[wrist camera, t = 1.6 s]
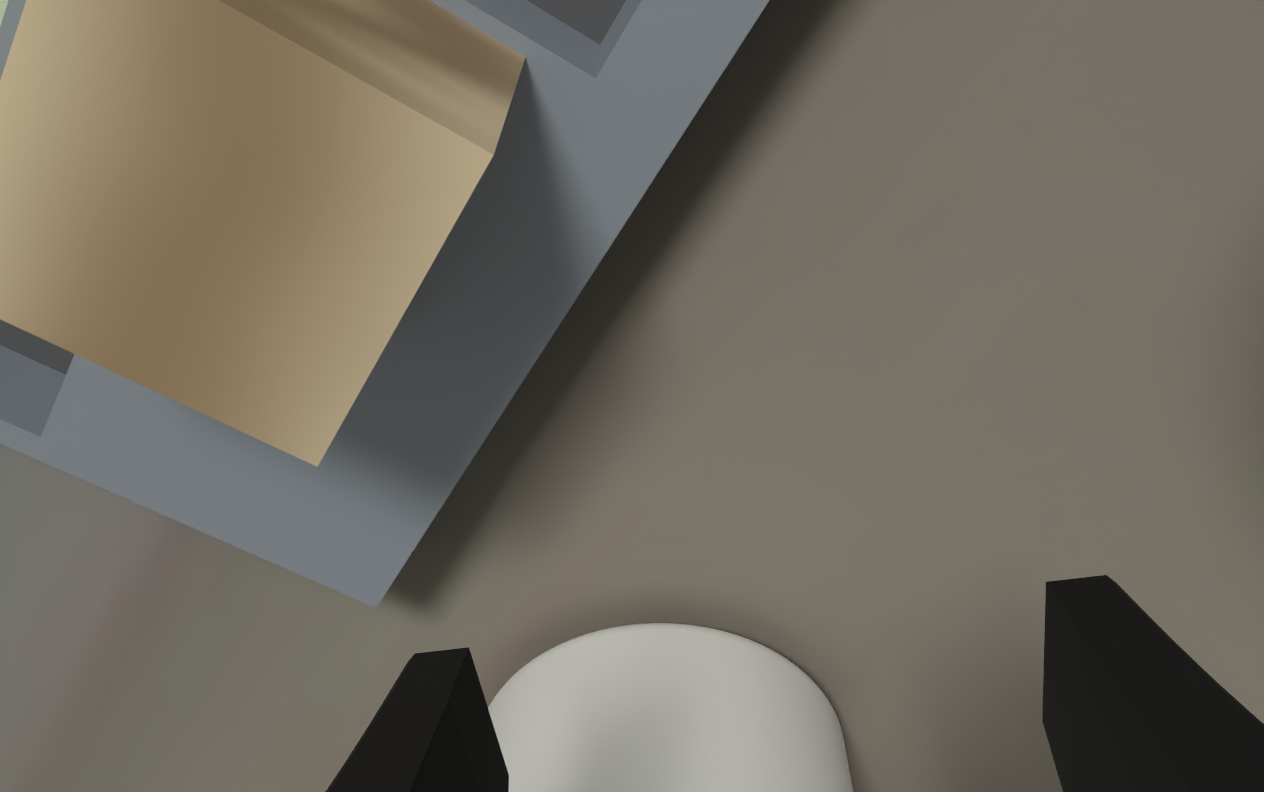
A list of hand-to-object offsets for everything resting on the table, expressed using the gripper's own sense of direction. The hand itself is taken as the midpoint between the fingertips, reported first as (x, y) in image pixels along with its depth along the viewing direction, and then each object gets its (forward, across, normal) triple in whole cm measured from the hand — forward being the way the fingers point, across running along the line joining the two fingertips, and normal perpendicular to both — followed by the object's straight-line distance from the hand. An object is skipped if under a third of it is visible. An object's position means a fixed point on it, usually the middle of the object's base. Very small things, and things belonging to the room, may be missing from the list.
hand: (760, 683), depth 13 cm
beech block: (+7, +6, -5) cm, 11 cm away
